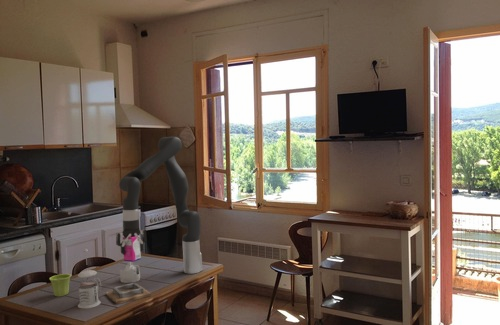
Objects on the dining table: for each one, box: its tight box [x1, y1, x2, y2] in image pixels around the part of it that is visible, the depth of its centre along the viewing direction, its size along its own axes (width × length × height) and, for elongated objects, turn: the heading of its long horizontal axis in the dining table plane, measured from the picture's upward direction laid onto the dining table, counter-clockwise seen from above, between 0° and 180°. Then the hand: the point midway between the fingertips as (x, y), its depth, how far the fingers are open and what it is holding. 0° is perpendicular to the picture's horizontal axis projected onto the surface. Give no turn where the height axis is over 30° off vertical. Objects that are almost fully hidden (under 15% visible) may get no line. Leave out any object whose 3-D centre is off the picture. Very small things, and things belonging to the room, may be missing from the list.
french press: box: [77, 248, 102, 309], centre depth 190 cm, size 10×12×25 cm
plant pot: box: [49, 273, 72, 297], centre depth 205 cm, size 9×9×9 cm
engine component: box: [119, 261, 141, 284], centre depth 224 cm, size 11×20×10 cm
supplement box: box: [122, 235, 142, 263], centre depth 203 cm, size 6×6×12 cm
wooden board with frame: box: [105, 282, 152, 305], centre depth 200 cm, size 16×16×3 cm
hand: (132, 252), depth 203 cm, fingers closed on supplement box, 7 cm apart
